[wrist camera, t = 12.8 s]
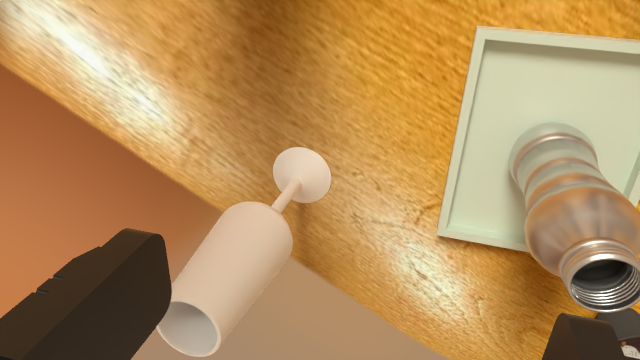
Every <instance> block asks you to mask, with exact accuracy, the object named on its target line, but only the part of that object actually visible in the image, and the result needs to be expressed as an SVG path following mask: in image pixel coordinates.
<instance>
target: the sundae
mask: <svg viewBox="0 0 640 360" xmlns="http://www.w3.org/2000/svg"><path fill="white" fill-rule="evenodd" d="M595 319H596V320H601V321H606V322H609V323H610V324H611V325H612V327H613V329H614V331H615V333H616V336H617V338H618V341H619V343H620V345H621V348H622V350H623V353H624V355H625V356H628V357H633V358H638V359H640V315H639V314H638V313H637V312H636V311H635V310H633V309H631V308H627V309H625V310H622V311H618V312H611V313H601V312H599V313H598V314H597V316H596V317H595Z"/></svg>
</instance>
